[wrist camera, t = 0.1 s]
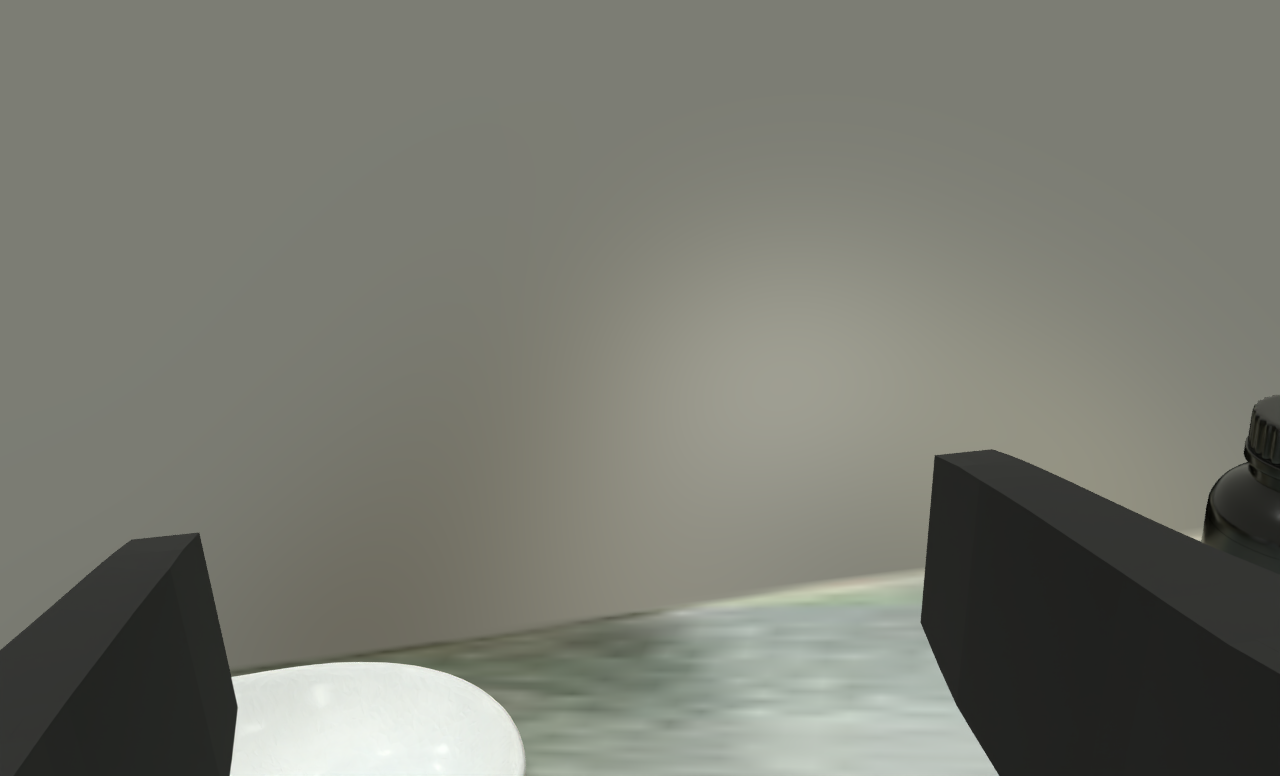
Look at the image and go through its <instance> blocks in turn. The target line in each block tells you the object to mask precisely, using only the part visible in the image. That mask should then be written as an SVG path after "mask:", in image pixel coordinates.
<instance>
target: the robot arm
mask: <svg viewBox="0 0 1280 776" xmlns="http://www.w3.org/2000/svg"><path fill="white" fill-rule="evenodd" d="M929 520H930V521H929V531H928V543H927V555H926V566H925V578H924V590H923V601H922V613H921V624H922V627H923V629H924V632H925V634H926V636H927V639H928V641H929V644H930V646H931V648H932V651H933V653H934V656H935V658H936V660H937V663H938V665H939V668H940V670H941V672H942V674H943V676H944V679H945V681H946V683H947V685H948V687H949V690H950V692H951V694H952V696H953V698H954V701H955V703H956V705H957V707H958V708H959V710H960V712H961V713H962V715H963V717H964V718H965V720H966V722H967V723H968V725H969V727H970V728H971V730H972V732H973V733H974V735H975V737H976V738H977V740H978V742H979V743H980V745H981V746H982V748H983V750H984V751H985V753H986V755H987V756H988V758H989V760H990V761H991V763H992V764H993V766H994V768H995V769H996V771H997V773H998V774H999V776H1280V574H1277V573H1275V572H1272V571H1270V570H1267V569H1265V568H1263V567H1260V566H1258V565H1255V564H1253V563H1250V562H1248V561H1245V560H1243V559H1240V558H1238V557H1236V556H1233V555H1231V554H1228V553H1226V552H1223V551H1221V550H1218V549H1216V548H1214V547H1211V546H1209V545H1207V544H1204V543H1202V542H1200V541H1198V540H1195V539H1193V538H1191V537H1188V536H1186V535H1184V534H1182V533H1179V532H1177V531H1175V530H1173V529H1170V528H1168V527H1166V526H1164V525H1162V524H1159V523H1157V522H1155V521H1153V520H1151V519H1148V518H1146V517H1144V516H1142V515H1140V514H1138V513H1135V512H1133V511H1131V510H1129V509H1127V508H1125V507H1123V506H1121V505H1118V504H1116V503H1114V502H1112V501H1110V500H1108V499H1105V498H1103V497H1101V496H1099V495H1097V494H1095V493H1093V492H1091V491H1089V490H1086V489H1084V488H1082V487H1080V486H1078V485H1076V484H1074V483H1072V482H1070V481H1067V480H1065V479H1063V478H1061V477H1059V476H1057V475H1054V474H1052V473H1050V472H1048V471H1045V470H1043V469H1041V468H1039V467H1036V466H1034V465H1032V464H1030V463H1027V462H1025V461H1023V460H1020V459H1018V458H1015V457H1013V456H1010V455H1007V454H1004V453H1001V452H998V451H996V450H982V451H973V452H963V453H954V454H944V455H935V460H934V472H933V484H932V495H931V507H930V519H929ZM237 711H238V705H237V701H236V696H235V692H234V687H233V683H232V678H231V674H230V669H229V665H228V661H227V656H226V651H225V647H224V643H223V638H222V633H221V629H220V624H219V620H218V615H217V612H216V606H215V602H214V597H213V593H212V588H211V584H210V579H209V575H208V570H207V566H206V561H205V557H204V552H203V548H202V544H201V539H200V534H199V533H191V534H182V535H173V536H163V537H154V538H144V539H134V540H131V541H129V542H128V543H126V544H125V545H124V546H122V547H121V548H120V549H119V550H117V551H116V552H115V553H113V554H112V555H111V556H110V557H108V558H107V559H106V560H105V561H104V562H102V563H101V564H100V565H99V566H98V567H97V568H95V569H94V570H93V571H92V572H91V573H89V574H88V575H87V576H86V577H85V578H84V579H83V580H81V581H80V582H79V583H78V584H77V585H76V586H75V587H73V588H72V589H71V590H70V591H69V592H68V593H66V594H65V595H64V596H63V597H62V598H61V599H60V600H58V601H57V602H56V603H55V604H54V605H53V606H52V607H51V608H49V609H48V610H47V611H46V612H45V613H43V614H42V615H41V616H40V617H39V618H38V619H36V620H35V621H34V622H33V623H32V624H31V625H30V626H28V627H27V628H26V629H25V630H24V631H22V632H21V633H20V634H19V635H18V636H17V637H15V638H14V639H13V640H12V641H11V642H9V643H8V644H7V645H6V646H5V647H4V648H3V649H1V650H0V776H230V770H231V763H232V754H233V746H234V737H235V728H236V720H237Z"/></svg>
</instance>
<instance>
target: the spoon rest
mask: <svg viewBox="0 0 1280 776" xmlns="http://www.w3.org/2000/svg"><path fill="white" fill-rule="evenodd" d="M231 678H232V683H233V687H234V692H235V696H236V701H237V705H238V711H237V720H236V728H235V737H234V746H233V754H232V763H231V770H230V776H525V775H526V755H525V750H524V746H523V742H522V739H521V736H520V733H519V731H518V729H517V727H516V725H515V724H514V722H513V720H512V718H511V717H510V715H509V714H508V713H507V712H506V710H505V709H504V708H503V707H502V706H501V705H500V704H499V703H498V702H497V701H496V700H494V699H493V698H492V697H491V696H490V695H488V694H487V693H486V692H484V691H483V690H481V689H480V688H478V687H476V686H475V685H473V684H471V683H469V682H467V681H465V680H463V679H460V678H458V677H455V676H453V675H450V674H448V673H444V672H440V671H436V670H433V669H429V668H424V667H419V666H413V665H405V664H395V663H380V662H346V663H329V664H316V665H308V666H299V667H292V668H285V669H279V670H271V671H265V672H259V673H254V674H248V675H242V676H236V677H231Z"/></svg>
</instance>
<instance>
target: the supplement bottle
mask: <svg viewBox="0 0 1280 776" xmlns="http://www.w3.org/2000/svg"><path fill="white" fill-rule="evenodd" d="M1244 456H1245V459H1246V460H1247V461H1248V462H1246V463H1243V464H1240V465H1238V466H1236V467H1234V468H1232V469H1230V470H1229V471H1227V472H1226V473H1225V474H1224V475H1222V476H1221V477H1220V478H1219V479H1218V481H1217V482H1216V483H1215V485H1214V486H1213V487H1212V489H1211V491H1210V493H1209V497H1208V502H1207V506H1206V513H1205V520H1204V526H1203V533H1202V540H1201V542H1202V543H1204V544H1207V545H1209V546H1211V547H1214V548H1216V549H1218V550H1221V551H1223V552H1226V553H1228V554H1231V555H1233V556H1236V557H1238V558H1240V559H1243V560H1245V561H1248V562H1250V563H1253V564H1255V565H1258V566H1260V567H1263V568H1265V569H1267V570H1270V571H1272V572H1275V573H1277V574H1280V395H1273V396H1271V397H1265V398H1264V399H1263V400H1260V401H1258V403H1257V404H1255V405H1254V408H1253V411H1252V416H1251V423H1250V430H1249V436H1248V437H1247V438H1246V441H1245V447H1244Z"/></svg>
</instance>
